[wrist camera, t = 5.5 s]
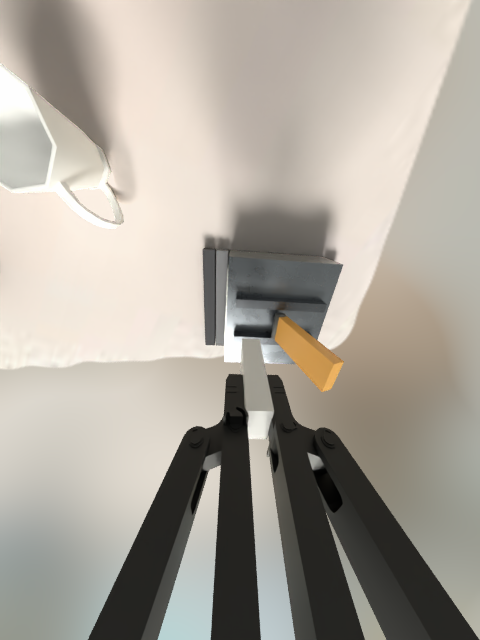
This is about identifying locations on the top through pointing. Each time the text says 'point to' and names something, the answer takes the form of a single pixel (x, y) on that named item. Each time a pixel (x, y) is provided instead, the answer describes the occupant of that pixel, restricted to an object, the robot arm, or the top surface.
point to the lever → (306, 352)
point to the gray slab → (215, 294)
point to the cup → (48, 151)
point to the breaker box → (275, 298)
